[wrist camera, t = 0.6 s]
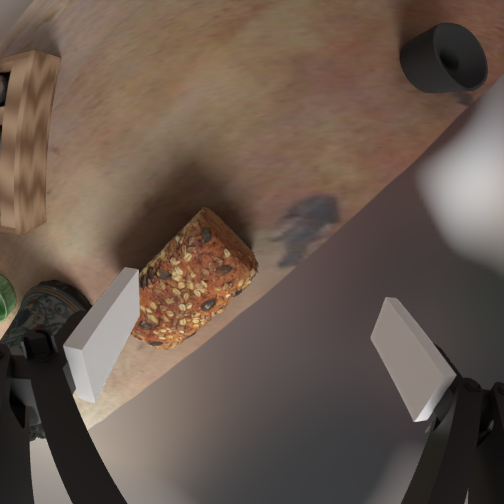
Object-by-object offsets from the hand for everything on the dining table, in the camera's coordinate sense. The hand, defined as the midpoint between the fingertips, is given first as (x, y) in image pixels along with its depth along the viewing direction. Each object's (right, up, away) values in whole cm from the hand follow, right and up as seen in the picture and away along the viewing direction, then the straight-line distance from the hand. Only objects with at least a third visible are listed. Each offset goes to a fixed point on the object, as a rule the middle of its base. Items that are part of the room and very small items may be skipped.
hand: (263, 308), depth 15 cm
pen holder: (+25, +30, +18) cm, 43 cm away
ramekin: (-50, -5, +30) cm, 58 cm away
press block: (-38, +21, +20) cm, 48 cm away
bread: (-10, 0, +29) cm, 30 cm away
